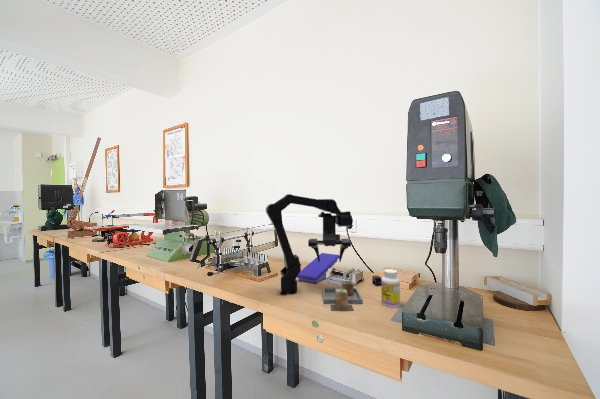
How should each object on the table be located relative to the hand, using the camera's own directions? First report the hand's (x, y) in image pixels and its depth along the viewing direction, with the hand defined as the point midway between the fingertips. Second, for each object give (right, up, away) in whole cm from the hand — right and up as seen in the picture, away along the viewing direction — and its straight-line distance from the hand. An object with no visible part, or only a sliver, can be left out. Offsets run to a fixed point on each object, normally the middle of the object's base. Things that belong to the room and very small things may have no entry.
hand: (329, 261), depth 123 cm
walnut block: (+7, -12, -9) cm, 16 cm away
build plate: (+22, -13, +4) cm, 26 cm away
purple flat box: (-3, -13, +20) cm, 24 cm away
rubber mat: (+2, -12, -23) cm, 26 cm away
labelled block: (+2, -12, -23) cm, 25 cm away
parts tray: (+3, -12, -12) cm, 17 cm away
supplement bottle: (+21, -12, -19) cm, 31 cm away
